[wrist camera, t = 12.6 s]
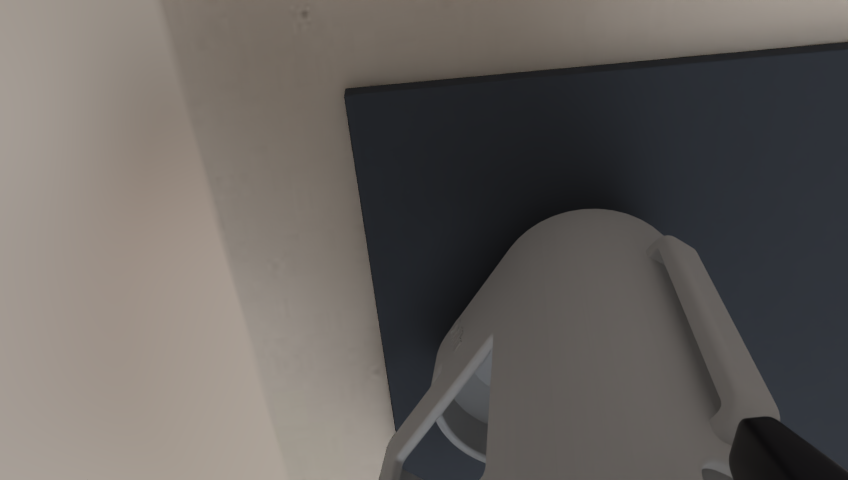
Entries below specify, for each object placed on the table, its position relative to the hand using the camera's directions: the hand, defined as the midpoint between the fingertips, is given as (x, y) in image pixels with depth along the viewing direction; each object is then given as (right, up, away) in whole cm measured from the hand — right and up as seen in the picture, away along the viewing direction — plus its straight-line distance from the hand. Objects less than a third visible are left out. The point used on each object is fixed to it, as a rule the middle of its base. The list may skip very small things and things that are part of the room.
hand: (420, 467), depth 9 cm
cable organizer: (+4, 0, +14) cm, 15 cm away
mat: (+9, -1, +16) cm, 18 cm away
